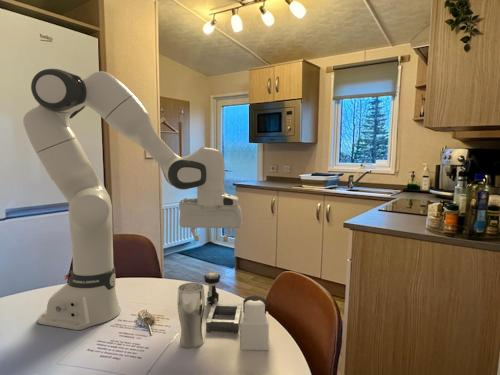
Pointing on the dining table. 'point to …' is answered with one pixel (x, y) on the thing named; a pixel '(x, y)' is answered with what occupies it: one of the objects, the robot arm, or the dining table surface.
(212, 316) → the frame
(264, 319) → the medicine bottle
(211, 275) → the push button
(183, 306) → the beer glass
